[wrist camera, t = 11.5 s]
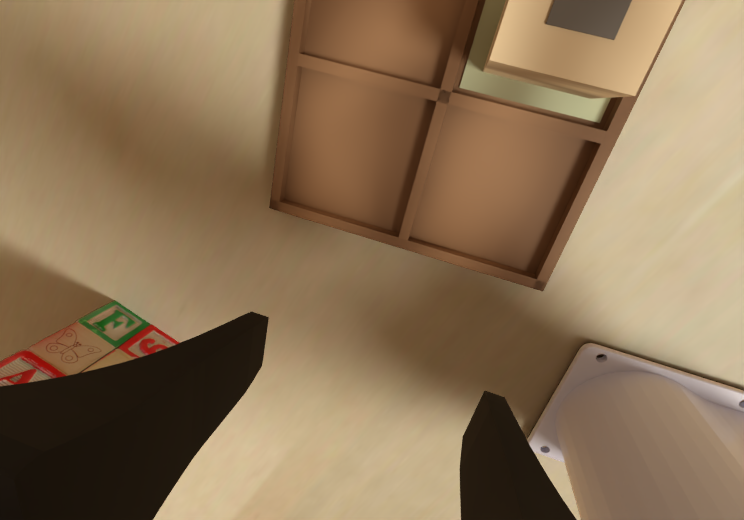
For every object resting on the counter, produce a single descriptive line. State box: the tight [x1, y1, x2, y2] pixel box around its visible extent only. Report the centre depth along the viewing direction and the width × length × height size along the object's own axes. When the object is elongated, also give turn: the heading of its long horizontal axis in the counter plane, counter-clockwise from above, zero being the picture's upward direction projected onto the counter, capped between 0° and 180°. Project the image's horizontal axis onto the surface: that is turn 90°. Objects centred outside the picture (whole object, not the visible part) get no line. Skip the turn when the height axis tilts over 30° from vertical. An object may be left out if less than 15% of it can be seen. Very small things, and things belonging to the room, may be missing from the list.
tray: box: [270, 0, 685, 291], centre depth 17 cm, size 14×14×1 cm
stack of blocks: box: [0, 301, 179, 386], centre depth 26 cm, size 21×6×12 cm, turn 148°
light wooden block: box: [483, 0, 682, 99], centre depth 13 cm, size 4×4×5 cm
